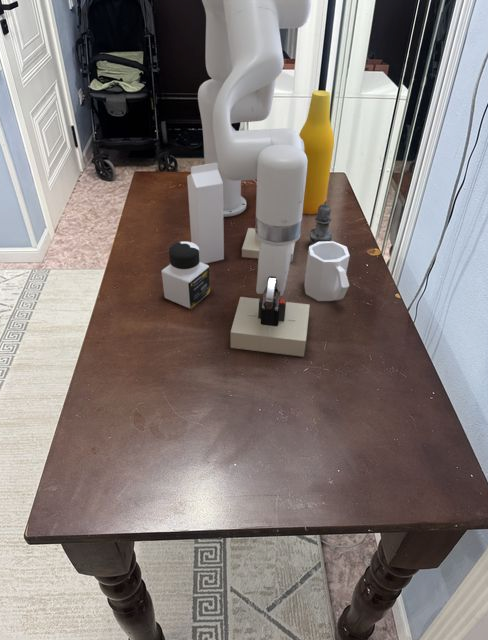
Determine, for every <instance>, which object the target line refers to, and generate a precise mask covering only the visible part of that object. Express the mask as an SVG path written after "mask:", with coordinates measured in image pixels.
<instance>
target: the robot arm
mask: <svg viewBox="0 0 488 640" xmlns="http://www.w3.org/2000/svg"><path fill="white" fill-rule="evenodd" d="M201 2H202V4H203V8H204V12H205V68H206V72H207V75H208V76H209V78H211V79H207V80H205V81H204V82H203V83H201V84H200V85H199V88H198V92H197V102H198V109H199V113H200V120H201V127H202V137H203V161H204V164H203V165H205V164H211V163H217V164H218V171H219V174H220V177H221V179H222V182H223V218H227V217H229V218H230V217H234V216H238V215H240V214H241V213H244V212H245V210H246V209H247V200H246V198H244V197H243V196H242V181H254V180H256V195H255V196H256V201H255V222H254V225H255V227H254V229H255V235H256V237H257V238H258V239H259V240H260V248H259V259H258V258H257V260H258V261H257V263H258V264H257V273H256V274H257V275H256V278H257V279H256V287H255V288H256V289H255V292H256V294H257V295H263V296H262V298H263V304H262V306H261V324H262V325H268V326H278V323H279V311H280V307H278V305H279V299H280V297H282V296H283V295H284V293H285V290H286V289H285V288H286V284H287V281H288V276H289V271H290V265H291V262H290V258H291V250H292V243H294V242H295V243H296V242H297V241H298V240H299V239H300V237H301V231H302V223H303V222H302V221H303V214H302V212H303V203H304V193H305V184H306V174H307V162H308V161H307V156H306V154H305V153H304V143H303V140H302V139H301V138H300V136H299V134H300V133H298V132H297V131H296V130H294V129H292V128H269V129H268V128H261V129H245V130H244V129H243V130H236V129H235V128H234V127H233V125H232V124H237V123H252V122H253V123H254V122H262V121H265V120H266V119H268V117H269V115H270V113H271V111H272V106H273V100H274V94H275V88H276V83H277V78H278V77H279V76H280V75H281V73H282V72H283V69H284V67H285V66H284V65H285V61H284V54H283V48H282V39H281V31H280V30H281V29H282V30H283V29H300V28H301V27H303V26H305V24H307V22H308V20H309V18H310V14H311V11H312V9H311V8H312V0H201ZM274 299H276V303H275V302H273V301H274Z"/></svg>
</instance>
